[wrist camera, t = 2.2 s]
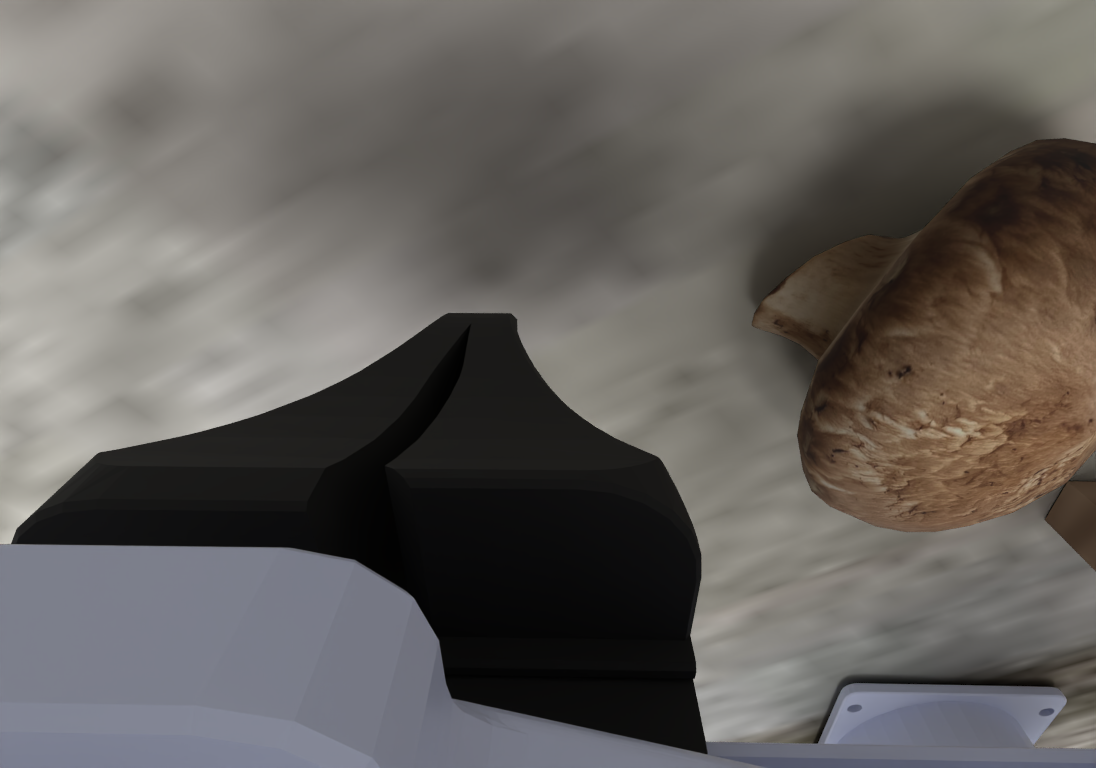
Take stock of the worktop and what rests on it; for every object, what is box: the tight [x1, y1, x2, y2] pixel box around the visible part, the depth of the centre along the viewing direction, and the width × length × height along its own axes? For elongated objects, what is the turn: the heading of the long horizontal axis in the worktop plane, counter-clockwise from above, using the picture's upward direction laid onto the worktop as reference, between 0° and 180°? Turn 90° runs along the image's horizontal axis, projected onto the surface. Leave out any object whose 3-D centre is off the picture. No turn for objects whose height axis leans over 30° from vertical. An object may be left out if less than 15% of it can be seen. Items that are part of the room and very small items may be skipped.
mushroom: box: [752, 138, 1096, 532], centre depth 12 cm, size 8×8×6 cm
